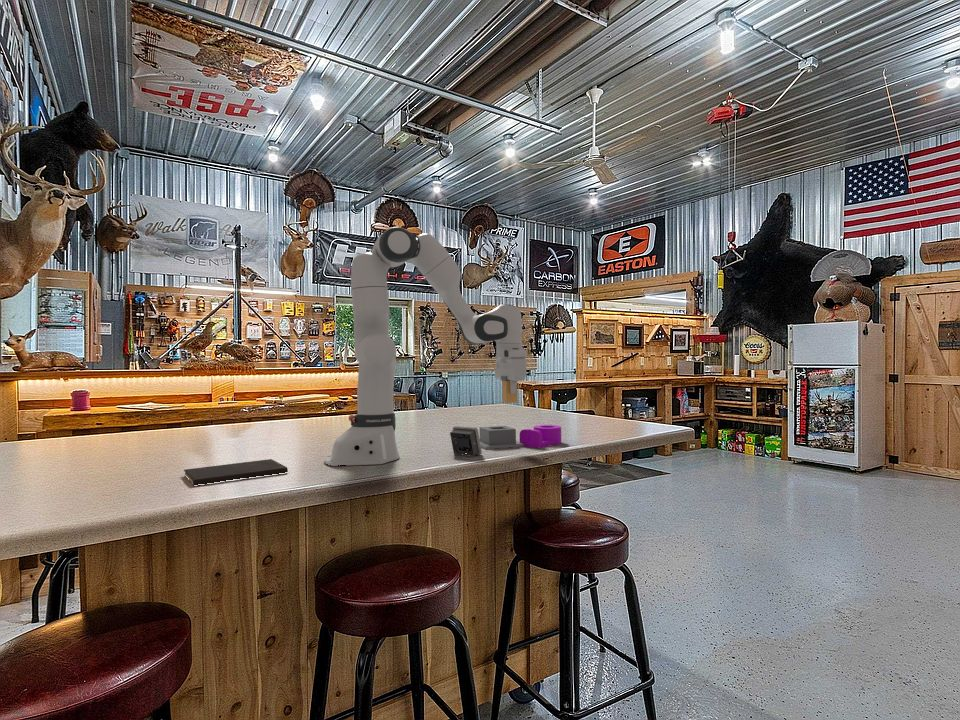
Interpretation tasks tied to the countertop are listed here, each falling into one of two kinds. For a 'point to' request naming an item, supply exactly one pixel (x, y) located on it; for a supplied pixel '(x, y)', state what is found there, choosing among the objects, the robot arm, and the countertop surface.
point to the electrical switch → (465, 440)
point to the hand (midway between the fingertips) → (509, 393)
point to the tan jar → (507, 391)
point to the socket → (498, 437)
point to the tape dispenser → (541, 436)
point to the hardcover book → (234, 471)
